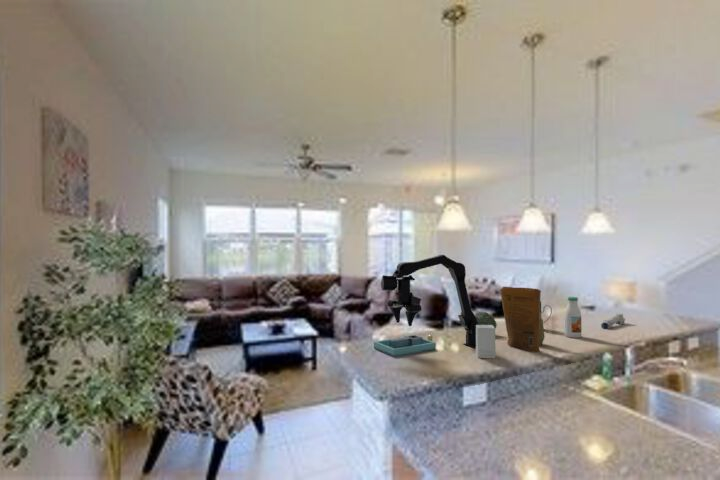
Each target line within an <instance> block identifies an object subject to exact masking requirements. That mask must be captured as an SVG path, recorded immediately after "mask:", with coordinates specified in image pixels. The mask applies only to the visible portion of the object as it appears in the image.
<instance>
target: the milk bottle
mask: <svg viewBox="0 0 720 480" xmlns="http://www.w3.org/2000/svg"><path fill="white" fill-rule="evenodd" d="M578 302H579V297H577V296H568V297H567V305H566V308H565V310H564V317H563V320H564V325H563V327H564V328H563V329H564V334H563V335H564V336H565V337H567V338H571V339H579V338H582V311H581V309H580V307H579V304H578Z"/></svg>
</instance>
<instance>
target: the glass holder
mask: <svg viewBox="0 0 720 480" xmlns="http://www.w3.org/2000/svg"><path fill="white" fill-rule="evenodd" d="M546 307H549V308H550V315H549V316H548V318H547V319H546V320H545V321H543V324H545V323H546V322H547V321H549V320H550V318H551V316H552V314H553V308H552V306H551V305H548V304H547V305H544V306H543V309H542V301H541V300H540V314H541V317H540V318H541V319H542V318H543V317H542V314H543V313H544V312H545V308H546ZM542 310H543V311H542ZM542 320H543V319H542Z"/></svg>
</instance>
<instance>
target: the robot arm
mask: <svg viewBox="0 0 720 480" xmlns="http://www.w3.org/2000/svg"><path fill="white" fill-rule="evenodd" d="M438 265H441V266H443V267H445V269H448V272H449V274H450V277H451V278H452V280H453V281H454V284H455V289H456V294H457V296H458V297H457V298H458V301H459V307H460V311H461V312H460V314H458V319H459V324H461V326H462V327H463V328H464V331H466V332H465V343H463V345H464V346H467V347H470V348H476V325H478V322H477V319H476V317H475V315H476V314H474V312H473V310H472V307H471V302H470V299H469V295H468V289H467V285H466V273H467V272H466V267H465V265H464V264H463V263H462V262H456V261H455V260H453V259H451V258H449V257H447V256H446V255H444V254H437V256H436V255H435V256H432V257H427V258H424V259H420V260H417V261H401V262H399V263H398V264H397V266H396V270H395V271H394V272H393V274H392V275H386V274H385V275H383V274H382V276H381V277H382V278H381V280H380V281H381V282H380V288H381V291H384V292H385V291H396V289H397V291H396V292H395V296H396V295H397V299H389V300H388V301H387V307H389V308H388V309H390V311H391V313H392V315H393V317H394V319H395V321H396V323H399V324H400V320H401V311H402V309H403V308H405V310H406V311H405V315H406V321H407V324H408V327H411V326H412V325H413V322H414V319H415V317H416V315H417V314H418V313H420V312H421V311H422V305H421V302H422V298H420V297H417V296H414V294H413V292H412V291H411V281H415V280H416V278H414V277H413V275H412V274H414V273H415V272H418V271H419V270H422V269H427V268H430V267H434V266H438Z"/></svg>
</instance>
